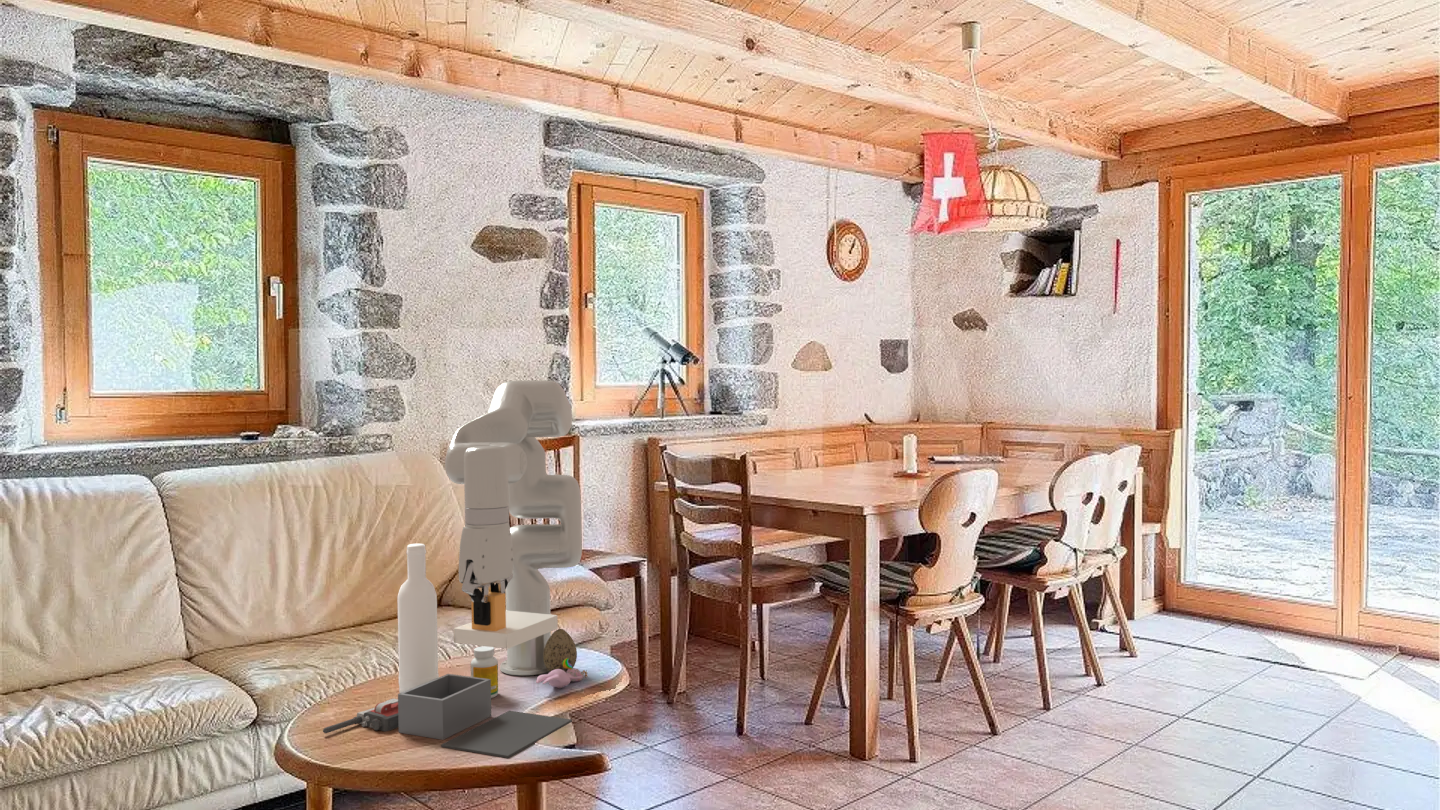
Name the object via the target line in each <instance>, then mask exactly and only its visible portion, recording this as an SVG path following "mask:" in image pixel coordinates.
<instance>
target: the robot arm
mask: <svg viewBox="0 0 1440 810" xmlns="http://www.w3.org/2000/svg"><path fill="white" fill-rule="evenodd" d="M572 424H573V411H572V407H571V404H570V401H569V398H568V396H567V394H566V391H565V390H564V388H563V387H562V386H561V385H560V384H559V383H557V381H554V380H547V379H546V380H545V379H544V380H543V379H542V380H541V379H540V380H510V381H506V382H503V383H501V384H500V385H499V386H498V387H496V389H495V391H494V392H493V396H492V398H491V401H490V404H489V406H488V409H487V412H486V413H485V414H482V415H480V416H479V417H476V418H474V419H473V420H470V421H468V422H467V423H465V424H463V425H462V426H460V427H459V428H458V429H457V430H456V431H455V432H454V433H453V435H452V438H451V439H450V442H449V445H448V447H447V451H446V455H445V460H444V468H445V473H446V476H447V477H448V479H449V480H450V481H451V482H452V483H454V484H457V485H463V487H464V527H462V531H461V535H460V536H461V537H460V542H459V543H460V544H459V554H458V555H459V557H458V580H459V581H458V582H459V583H460V584H462V585H461V591H462V592H464V593H466V594H468V596H469V597H470V600H471V601H472V602H473V609H474V624H477V625H486V626H488V625H490V624H491V613H490V602H487V601H488V592H497V593H505V606H506V610H507V611H518V612H529V613H539V614H550V615H551V589H550V585H549V582H548V581H547V579H546V578H545V576H544V575H543V574H542V573H541V572H540V571H539V570H540V569H561V568H562V569H567V568H574V567H576V566H577V565H578V564H580V561H581V559H582V553H583V527H582V526H583V525H582V496H581V488H580V484H579V482H578V480H577V479H576V478H575V477H574V476H572V475H568V474H548V473H547V463H546V462H547V460H546V459H547V458H546V451H545V449H544V447H543V446H542V444H541V443H540V441H539V440H538V439H537V438H560V437H564V436H566V435H567V434H568V433H569V432H570V430H571V429H572ZM510 515H511V516H512V517H513V518H517V519H527V520H528V519H535V520H536V519H537V520H538V519H557V520H558V521H559V522H560V523H559V524H558V523H557V524H555V523H554V524H543V523H542V524H541V523H537V524H534V523H533V524H519V525H518V524H517V525H513V526H510ZM480 588H481V590H480ZM481 591H482V592H481ZM551 633H552V631H551V632H548V633H546V634H543V635H541V636H538V637H536V638H533V639H531V640H528V641H526V642H523V643H521V644H518V645H516V646H513V647H511V648H508V649H506V658H507V659H505V660H503V661H502V662H501V663H500V665H499V670H500V671H501V672H502V673H504V674H507V675H510V676H534V675H535V676H537V675H543V674H548V673H550V672H549V671H548V670H547V668H546V666H545V664H544V660H543V652H544V648H545V645H546V643H547V641H548V639H549V638H550V636H551V635H552V634H551Z"/></svg>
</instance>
